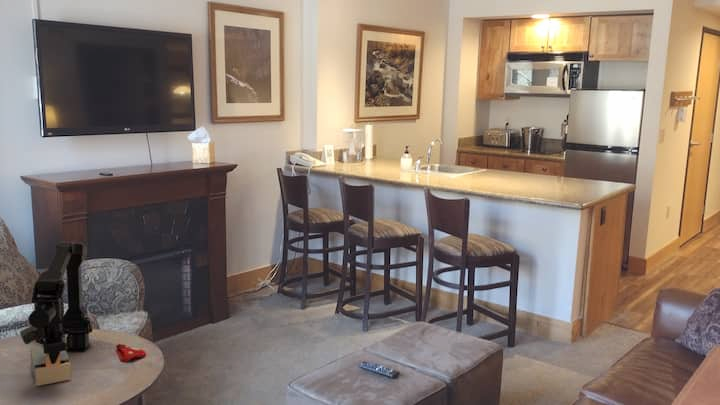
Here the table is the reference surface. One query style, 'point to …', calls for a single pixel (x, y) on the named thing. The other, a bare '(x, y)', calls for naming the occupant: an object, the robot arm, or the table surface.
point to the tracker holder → (129, 352)
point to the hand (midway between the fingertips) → (53, 362)
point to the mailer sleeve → (43, 358)
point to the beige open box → (52, 371)
